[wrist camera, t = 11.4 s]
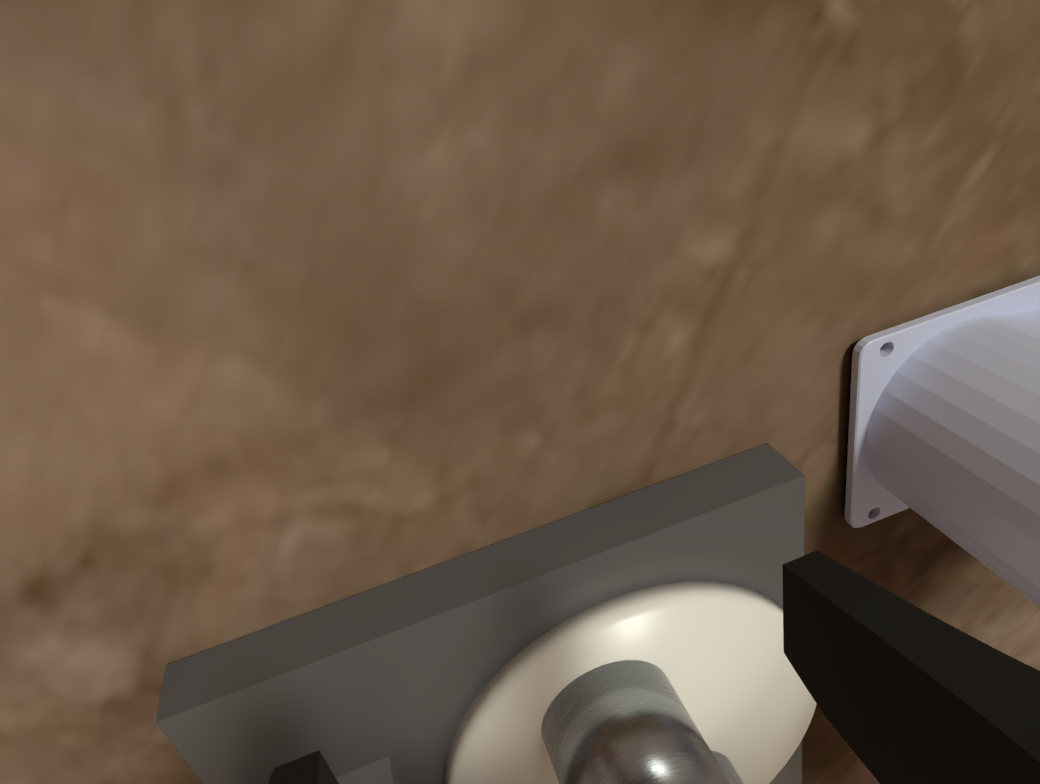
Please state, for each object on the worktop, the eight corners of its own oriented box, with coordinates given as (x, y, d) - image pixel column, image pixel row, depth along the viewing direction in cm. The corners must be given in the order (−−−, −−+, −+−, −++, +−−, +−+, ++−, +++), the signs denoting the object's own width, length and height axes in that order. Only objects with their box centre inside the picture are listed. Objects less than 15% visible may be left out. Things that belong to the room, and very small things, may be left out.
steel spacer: (658, 638, 22) (727, 750, 19) (678, 722, 24) (743, 834, 21) (525, 699, 22) (572, 825, 18) (559, 778, 24) (605, 903, 21)
